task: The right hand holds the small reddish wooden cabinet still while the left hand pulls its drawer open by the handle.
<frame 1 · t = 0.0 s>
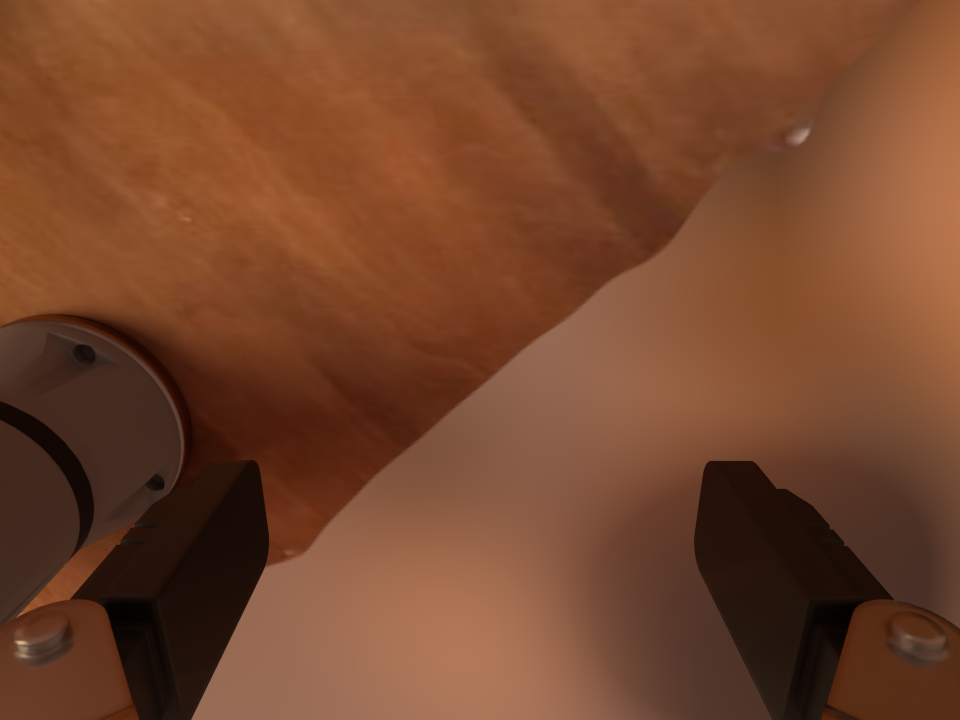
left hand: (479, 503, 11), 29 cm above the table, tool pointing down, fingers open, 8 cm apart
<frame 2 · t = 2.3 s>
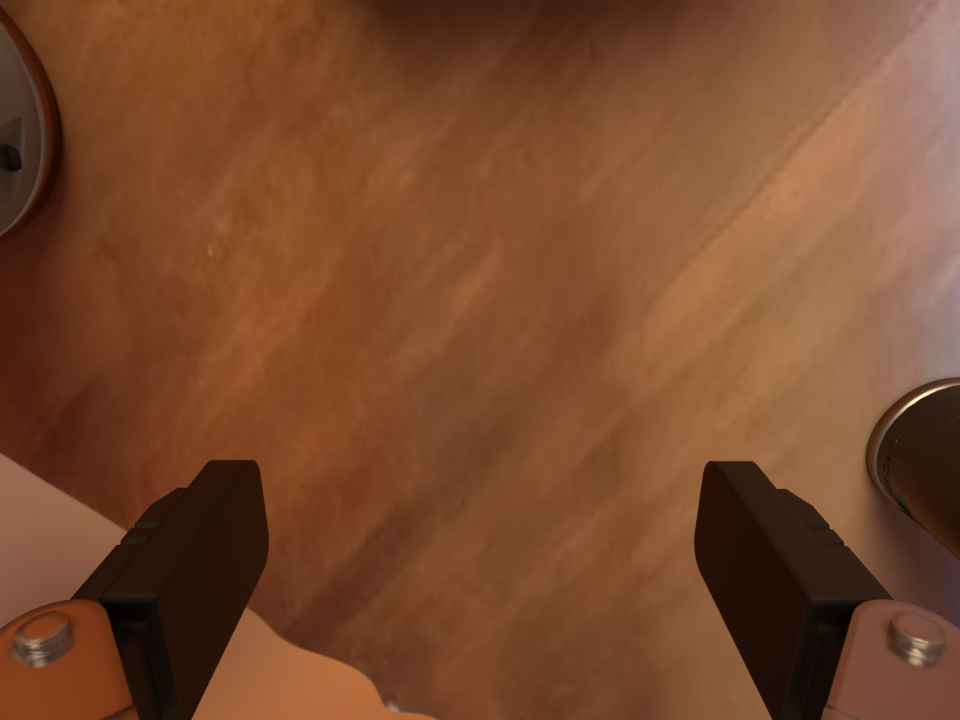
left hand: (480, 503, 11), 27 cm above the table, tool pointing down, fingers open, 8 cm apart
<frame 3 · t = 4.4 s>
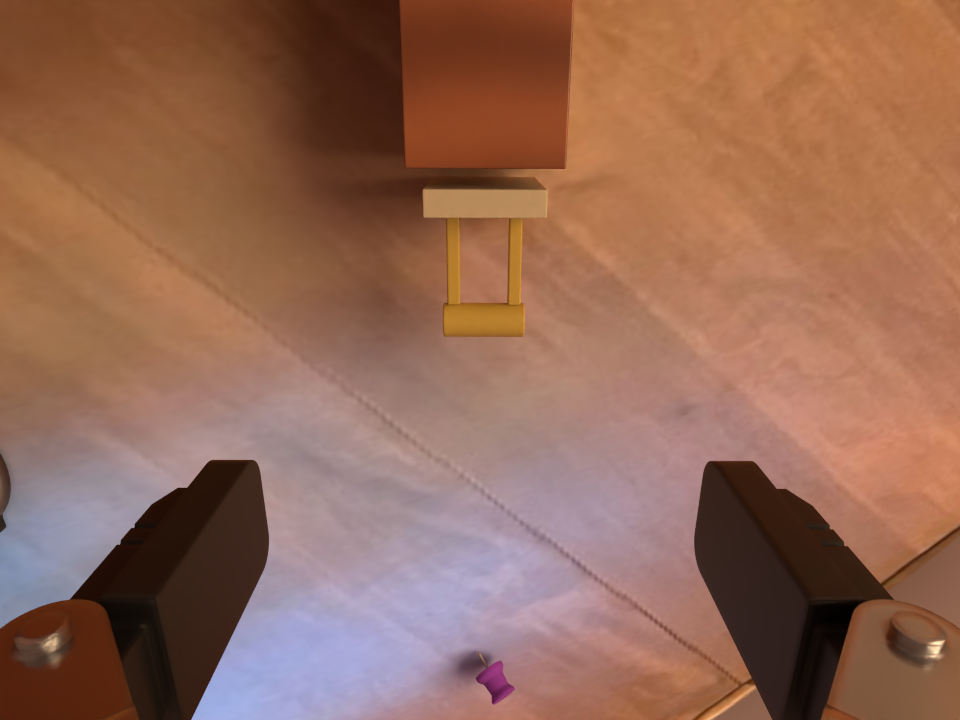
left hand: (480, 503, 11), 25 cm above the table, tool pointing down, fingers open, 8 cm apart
pushpin: (493, 660, 45), on the table
drawer: (485, 72, 28), point 4 cm above the table, slide at 0.9 cm
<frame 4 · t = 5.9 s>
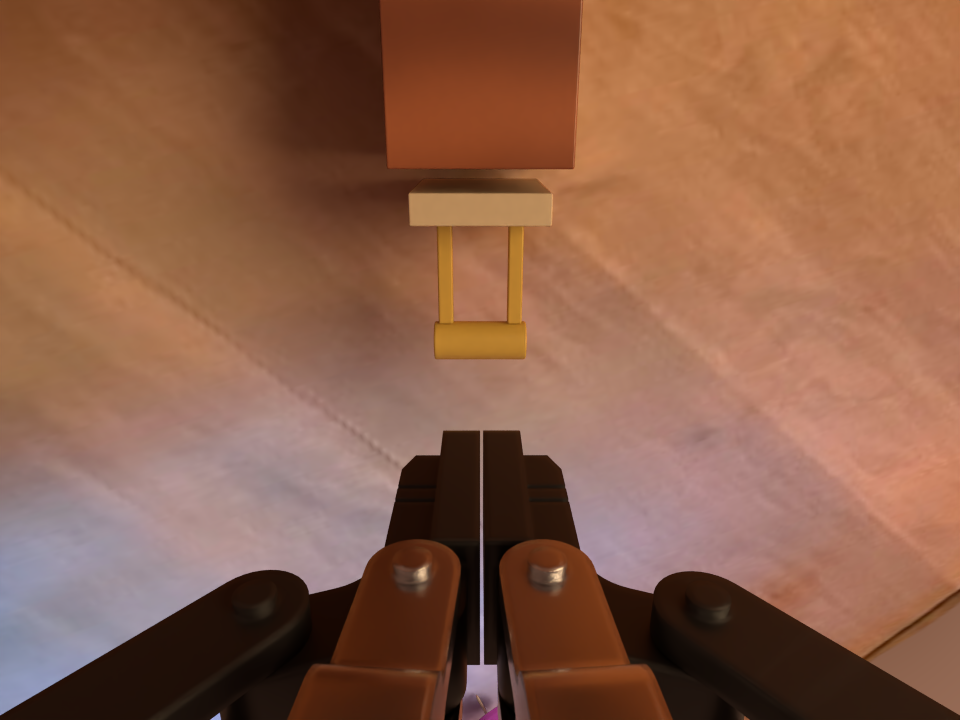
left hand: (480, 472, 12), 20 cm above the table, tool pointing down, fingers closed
pushpin: (493, 703, 42), on the table
drawer: (480, 59, 25), point 4 cm above the table, slide at 0.9 cm
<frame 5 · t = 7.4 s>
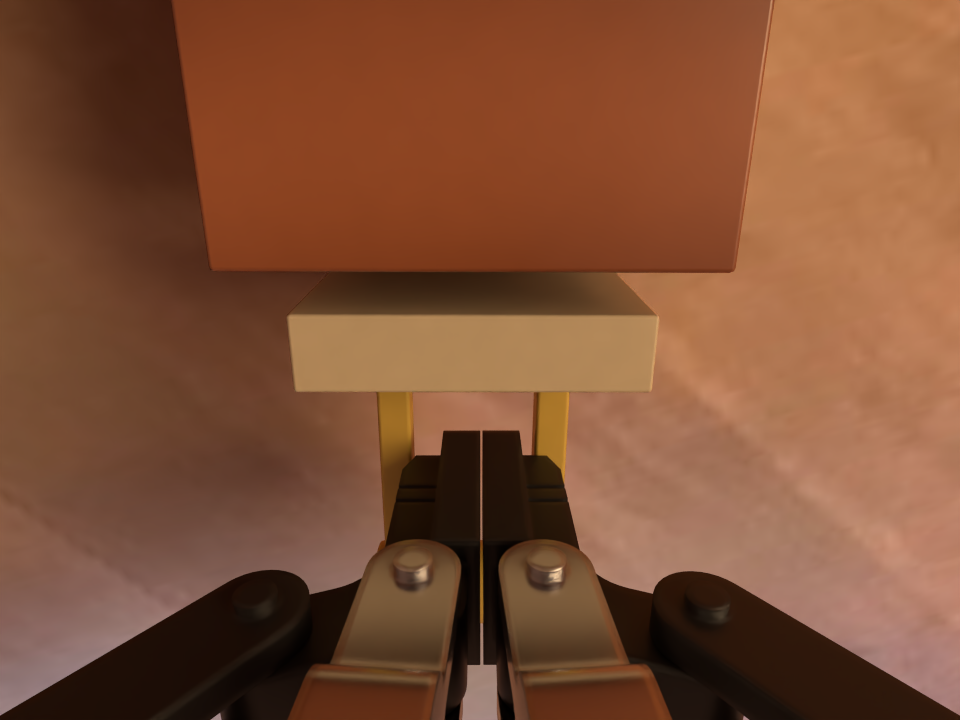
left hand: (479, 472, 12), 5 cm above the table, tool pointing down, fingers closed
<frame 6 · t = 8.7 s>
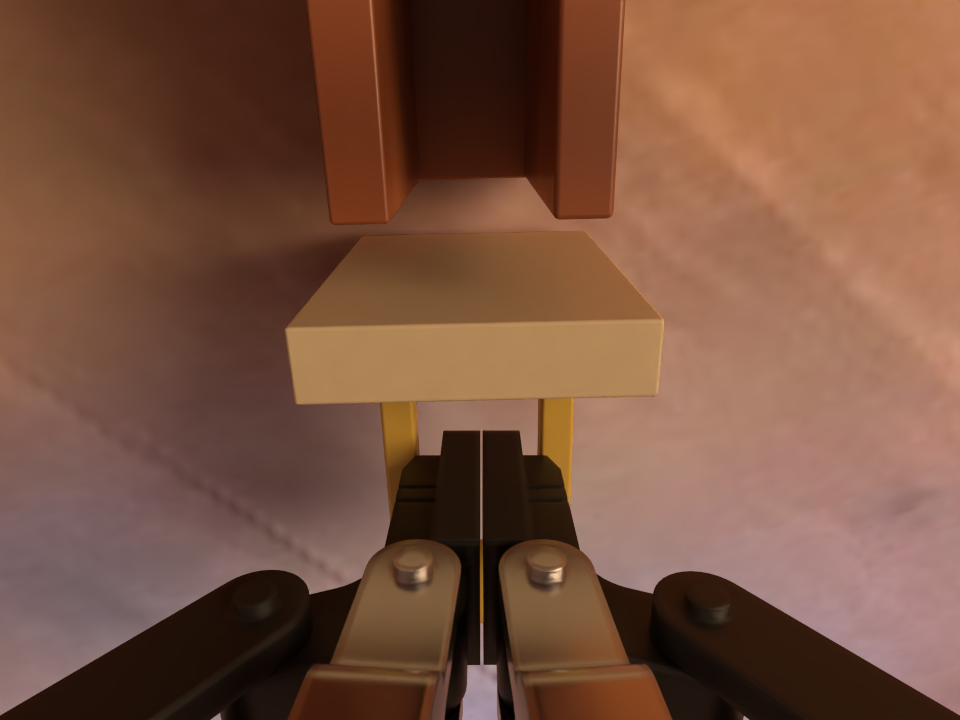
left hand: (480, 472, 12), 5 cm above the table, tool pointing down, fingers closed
when the right hand's fingers open (3 cm above the table, at t = 10.2 s): cabinet stays where it is, on the table.
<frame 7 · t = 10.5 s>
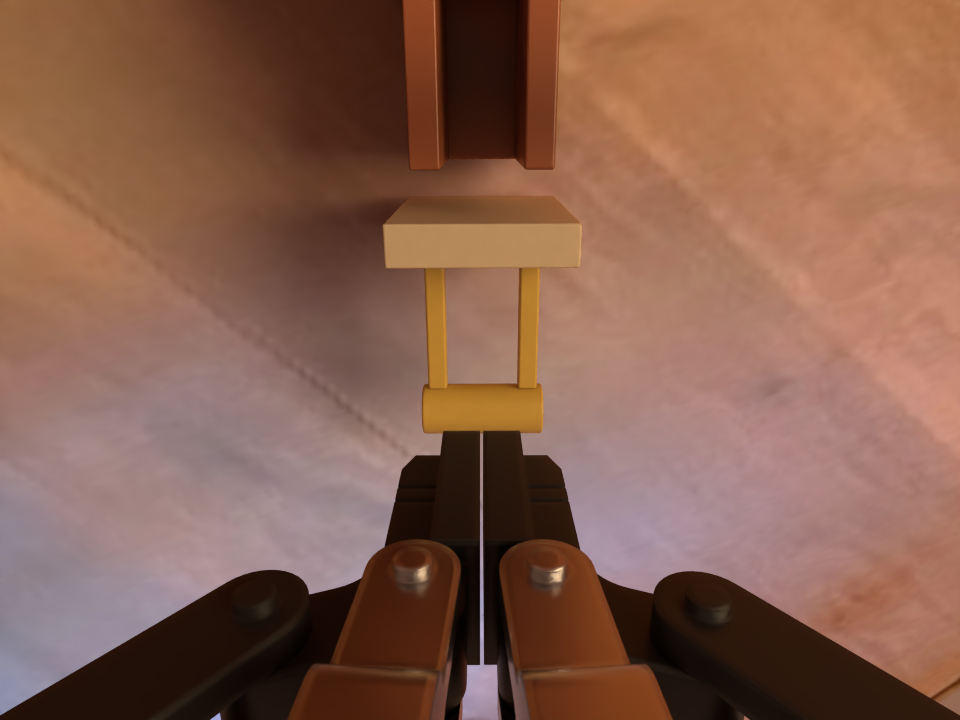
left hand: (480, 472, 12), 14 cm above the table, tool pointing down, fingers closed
drawer: (481, 40, 18), point 4 cm above the table, slide at 6.7 cm
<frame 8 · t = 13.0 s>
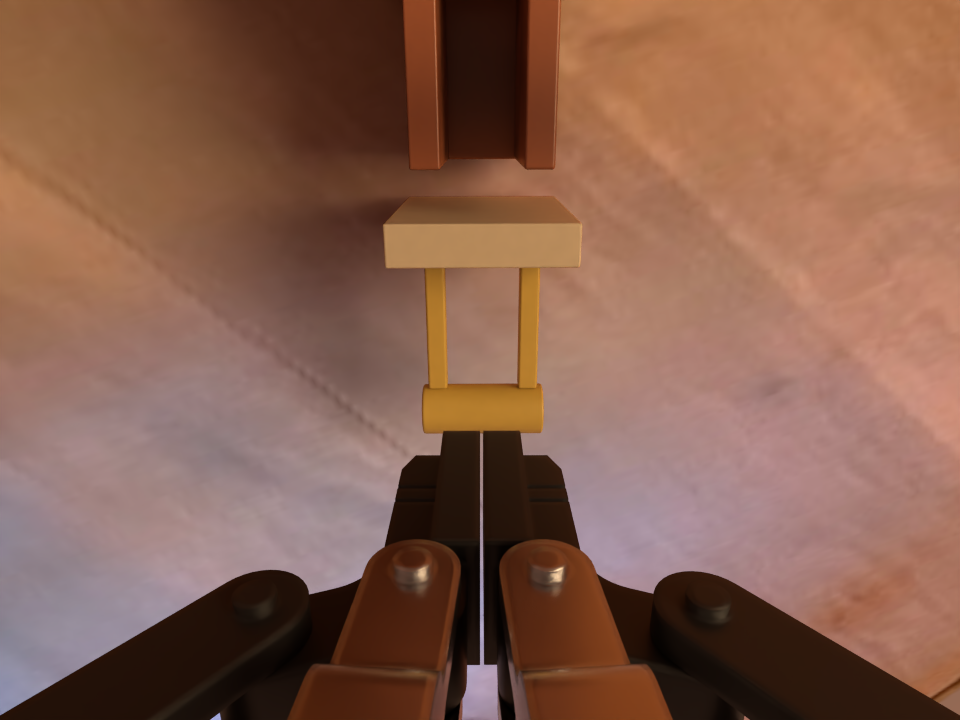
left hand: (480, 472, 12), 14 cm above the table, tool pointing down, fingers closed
drawer: (481, 40, 18), point 4 cm above the table, slide at 6.7 cm
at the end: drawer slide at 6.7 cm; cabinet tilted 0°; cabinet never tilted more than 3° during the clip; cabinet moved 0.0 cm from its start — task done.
